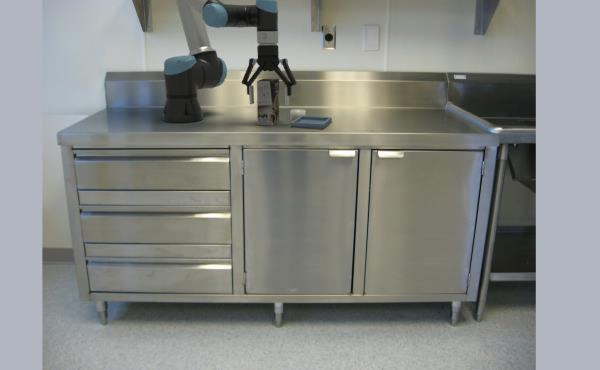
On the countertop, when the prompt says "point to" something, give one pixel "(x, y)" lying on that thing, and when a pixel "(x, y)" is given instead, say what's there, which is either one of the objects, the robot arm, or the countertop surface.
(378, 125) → the countertop surface
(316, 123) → the tray
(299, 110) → the white small block
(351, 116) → the countertop surface
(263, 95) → the coffee box
